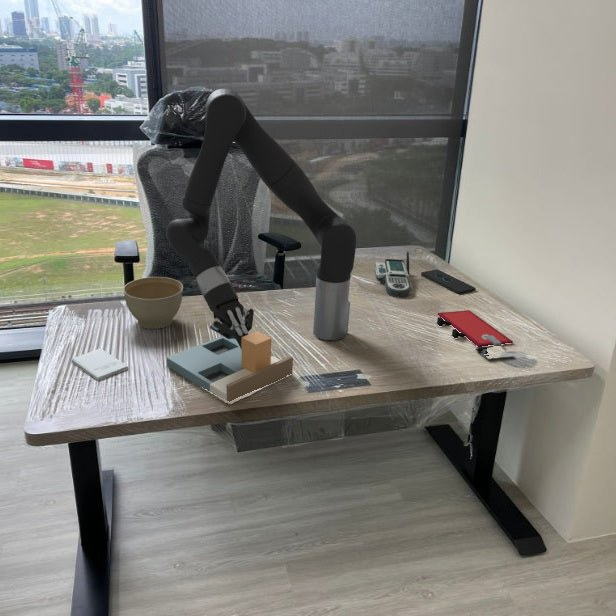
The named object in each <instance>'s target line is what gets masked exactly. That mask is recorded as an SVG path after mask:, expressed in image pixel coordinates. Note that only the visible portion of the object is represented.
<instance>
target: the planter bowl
mask: <svg viewBox="0 0 616 616" xmlns="http://www.w3.org/2000/svg"><path fill="white" fill-rule="evenodd" d="M183 291H184V285H183V283H182V282H181V281H179V280H177V279H174V278H172V277H171V278H170V277H165V276H149V277H147V276H146V277H140V278H137V279H135V280H132V281H129V282H127V284H125V285H124V286H123V295H124V298H125V304H126V306H127V308H128V310H129V312H130V313H131V315H132V317H133V318H134V319H136V321H137V323H138V325H139V326H141V328H145V329H147V330H148V329H150V330H157V329H162V328H167V327H168V326H170V325H171V324H172V323H173V321H174V318H175V317H176V315H177V314H178V312H179V309H180V307H181V305H182V301H183Z"/></svg>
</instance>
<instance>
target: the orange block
mask: <svg viewBox="0 0 616 616" xmlns="http://www.w3.org/2000/svg"><path fill="white" fill-rule="evenodd" d="M271 355H272V337H270V336H268V335H266V334H264V333H262V332H260V331H258V330H257V331H254V332H252V333H248V335H246V336H244V337H242V367H243V368H245V369H246V370H248V371H250V372H252V373H253V372H256V371H258V370H260V369H262V368H264V367H267V366H269V365H271Z"/></svg>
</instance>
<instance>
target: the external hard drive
mask: <svg viewBox="0 0 616 616" xmlns="http://www.w3.org/2000/svg"><path fill="white" fill-rule="evenodd" d="M70 361H71V363H72V364H74V366H75V365H76V367H78V368H79V369H81V370H82V371H84V372H85V373H86V374H88V375H89V376H90V377H92V378H94V379H95V380H96V381H102V380H103V379H106V378H110V377H112V376H113V375H117V374H119V373H122V372H124V371H126V370H129V366H128V365H127V364H125V363H123V362H122V361H120V360H119V359H117V358H116V357H115V356H113V355H111V354H110V353H109V352H107V351H106V350H104V349H103V348H97V349H95V350H91V351H89V352H88V351H87V352H86V353H83V354H79V355H78V356H74V357H72V358H71V360H70Z"/></svg>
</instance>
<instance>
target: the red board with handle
mask: <svg viewBox="0 0 616 616" xmlns="http://www.w3.org/2000/svg"><path fill="white" fill-rule="evenodd" d="M438 315H439V316H440V317H439V316H438ZM437 316H438V317H437V320H436V325H437V324H438V325H439V326H443V327H444V325H445V326H449V325H452V326H453V327H454V328H456V329H457V330H458V331H459V332H461V333H459V332H458V331H457V330H456V329H454V328H453V327H452V328H453V329H452V330H451V331H452V332H451V336H453V337H454V338H458V339H459V338H463V337H464V336H466V337H467V338H468V339H469V340H470V341H472V342H473V343H474V344H475V345H477V346H478V347H482V346H488V345H494V346H501V344H505V343H514V341H513V340H512V339H511V338H509V337H507V336H506V335H504V334H503V333H502V332H501V331H499V330H498V329H497V328H495V327H493V326H492V325H491V324H490V323H488V322H487V321H485V320H484V319H483V318H481V317H479V315H477V314H475V313H474V312H473V311H472V310H469V309H468V310H459V311H458V310H457V311H443V312H437ZM441 317H442V318H443V319H444V320H445V321H444V320H443V319H442V318H441ZM438 325H437V326H438ZM439 326H438V327H439ZM469 340H468V341H469ZM470 341H469V342H470ZM474 344H473V345H474ZM475 345H474V346H475ZM478 347H476V348H475V350H476V351H477V352H478V353H479V354H481V355H482V356H483V357H484V358H486V356H489V355H484V354H487V353H488V352H487V347H484V348H478Z"/></svg>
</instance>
